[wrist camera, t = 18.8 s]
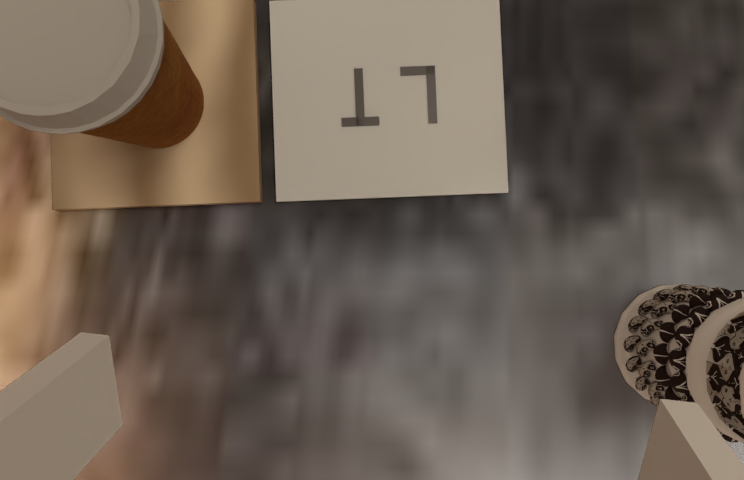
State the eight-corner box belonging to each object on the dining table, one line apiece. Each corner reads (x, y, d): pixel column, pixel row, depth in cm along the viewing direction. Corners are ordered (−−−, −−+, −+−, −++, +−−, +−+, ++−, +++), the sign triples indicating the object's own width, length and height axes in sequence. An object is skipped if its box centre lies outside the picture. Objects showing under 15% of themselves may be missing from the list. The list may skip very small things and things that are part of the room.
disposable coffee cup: (246, 147, 34) (178, 88, 22) (111, 190, 34) (-31, 154, 22) (204, 16, 34) (115, -114, 22) (70, 57, 34) (-92, -50, 22)
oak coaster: (255, 3, 35) (253, -3, 34) (262, 202, 35) (260, 201, 34) (55, 10, 35) (48, 5, 34) (59, 210, 35) (52, 209, 34)
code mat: (497, -6, 35) (499, -9, 35) (507, 193, 35) (508, 192, 34) (270, 3, 35) (268, 0, 35) (277, 202, 35) (275, 201, 34)
